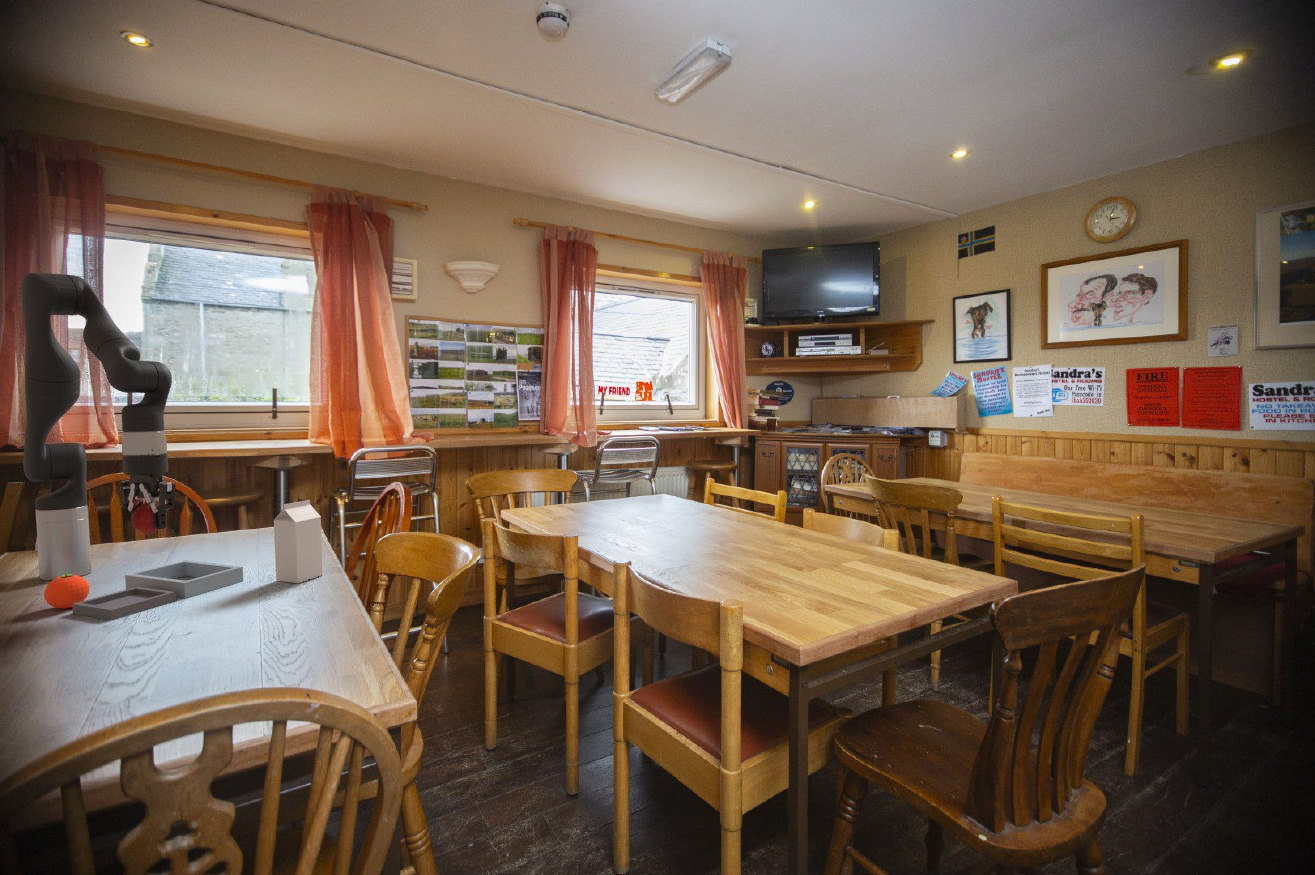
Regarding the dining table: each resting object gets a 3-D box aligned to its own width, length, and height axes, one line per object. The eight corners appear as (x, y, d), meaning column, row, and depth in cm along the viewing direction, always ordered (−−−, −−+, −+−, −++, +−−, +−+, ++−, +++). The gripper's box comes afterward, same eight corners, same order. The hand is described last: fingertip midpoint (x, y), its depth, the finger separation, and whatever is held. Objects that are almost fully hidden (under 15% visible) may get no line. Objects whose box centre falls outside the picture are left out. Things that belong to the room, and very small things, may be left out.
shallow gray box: (125, 589, 139) (124, 575, 139) (186, 573, 152) (185, 560, 152) (185, 598, 133) (184, 582, 133) (243, 581, 146) (242, 566, 146)
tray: (72, 613, 124) (72, 603, 124) (138, 595, 135) (137, 586, 135) (111, 620, 120) (111, 610, 120) (175, 600, 132) (175, 591, 132)
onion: (173, 532, 136) (171, 497, 135) (150, 538, 130) (148, 501, 129) (149, 532, 136) (147, 497, 135) (125, 537, 130) (123, 501, 130)
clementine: (44, 606, 128) (41, 573, 128) (88, 598, 133) (86, 567, 133) (45, 615, 123) (43, 581, 122) (92, 607, 128) (90, 574, 127)
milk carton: (323, 576, 150) (320, 500, 149) (297, 584, 144) (294, 505, 142) (301, 573, 153) (298, 499, 151) (275, 581, 146) (272, 503, 145)
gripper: (102, 452, 130) (106, 529, 131) (150, 454, 126) (154, 533, 127) (140, 450, 137) (144, 523, 138) (187, 451, 133) (191, 526, 134)
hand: (149, 527), depth 133 cm, fingers closed on onion, 6 cm apart
